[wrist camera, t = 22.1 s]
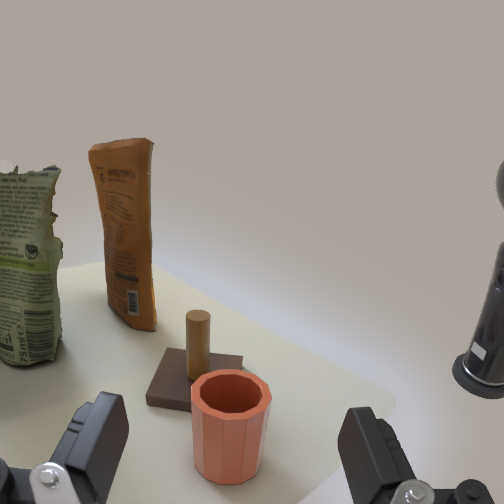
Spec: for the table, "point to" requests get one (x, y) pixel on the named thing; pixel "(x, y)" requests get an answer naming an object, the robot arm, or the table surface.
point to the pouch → (28, 267)
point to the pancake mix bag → (126, 226)
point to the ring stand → (187, 365)
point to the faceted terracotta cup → (229, 424)
